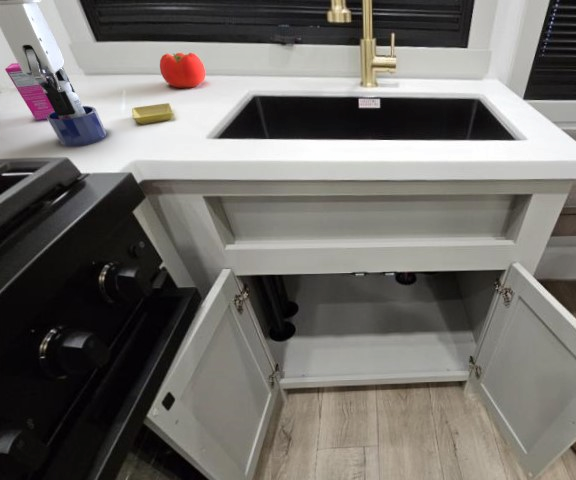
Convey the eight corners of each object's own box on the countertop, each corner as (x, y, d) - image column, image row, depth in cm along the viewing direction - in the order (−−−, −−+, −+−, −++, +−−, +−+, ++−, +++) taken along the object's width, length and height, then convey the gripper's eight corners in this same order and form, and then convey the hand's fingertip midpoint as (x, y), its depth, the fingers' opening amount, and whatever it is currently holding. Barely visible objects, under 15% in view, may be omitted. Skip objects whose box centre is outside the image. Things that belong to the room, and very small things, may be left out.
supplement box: (41, 115, 81) (11, 62, 74) (67, 112, 83) (41, 60, 75) (35, 122, 77) (3, 67, 70) (63, 119, 79) (35, 65, 71)
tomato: (214, 81, 103) (208, 49, 97) (197, 92, 94) (189, 58, 88) (178, 80, 105) (169, 49, 99) (157, 91, 96) (146, 57, 90)
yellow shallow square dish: (135, 116, 80) (131, 107, 78) (171, 111, 82) (169, 102, 81) (136, 127, 74) (132, 118, 72) (175, 121, 76) (173, 112, 75)
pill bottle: (62, 133, 65) (37, 87, 60) (70, 125, 69) (47, 81, 63) (87, 131, 66) (65, 85, 60) (94, 123, 69) (74, 79, 64)
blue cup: (57, 150, 65) (41, 122, 61) (66, 135, 71) (51, 109, 67) (104, 144, 67) (91, 116, 63) (109, 130, 73) (97, 103, 69)
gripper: (0, -10, 58) (57, 100, 70) (-41, -5, 46) (36, 127, 58) (48, -12, 59) (96, 96, 72) (20, -7, 48) (83, 121, 60)
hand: (69, 109), depth 65 cm, fingers closed on pill bottle, 4 cm apart
